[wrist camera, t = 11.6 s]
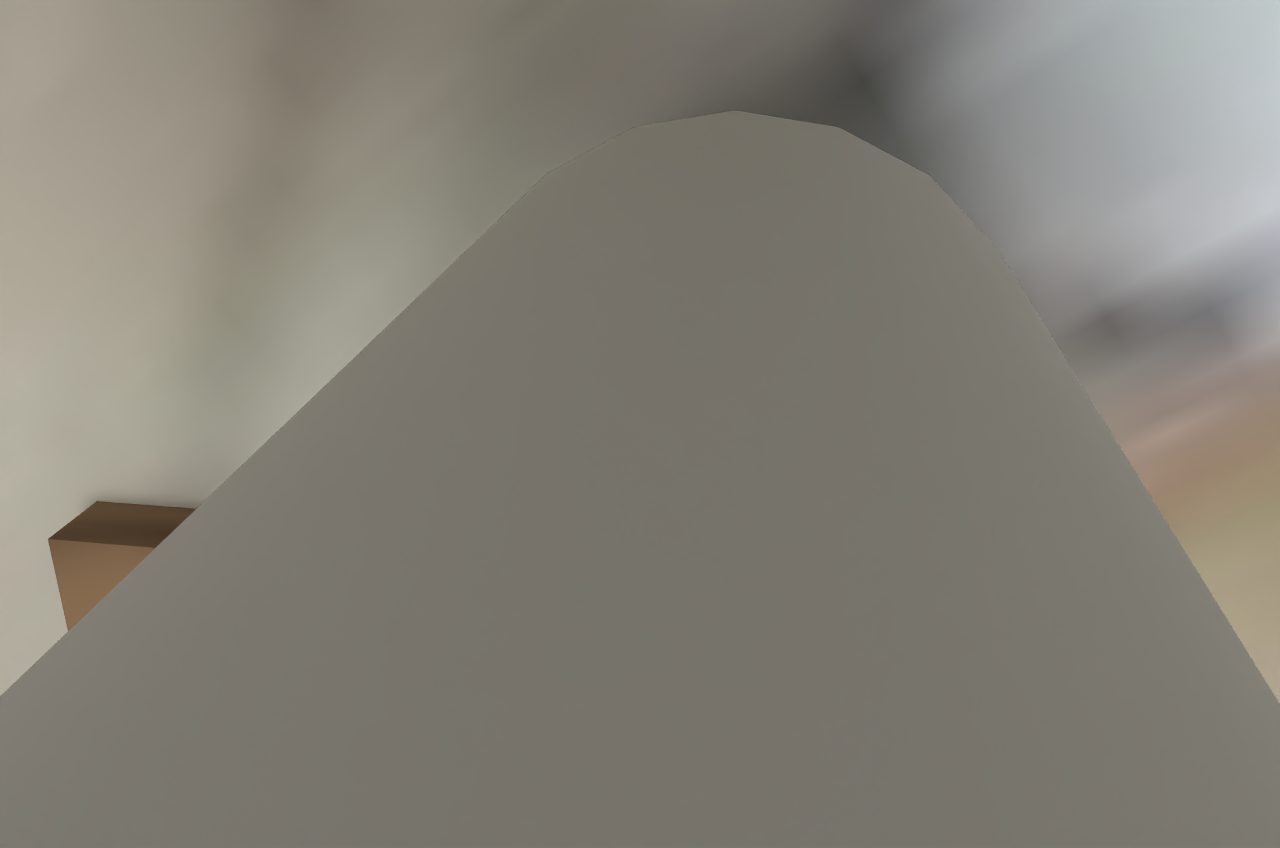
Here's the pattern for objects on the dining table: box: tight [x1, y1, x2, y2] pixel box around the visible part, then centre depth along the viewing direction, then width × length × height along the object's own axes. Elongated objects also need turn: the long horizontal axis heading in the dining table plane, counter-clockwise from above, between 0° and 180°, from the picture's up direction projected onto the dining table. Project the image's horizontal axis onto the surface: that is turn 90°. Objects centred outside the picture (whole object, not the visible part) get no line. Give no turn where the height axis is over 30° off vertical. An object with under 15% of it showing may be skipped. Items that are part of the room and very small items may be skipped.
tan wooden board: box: [48, 501, 196, 631], centre depth 30 cm, size 10×7×2 cm
